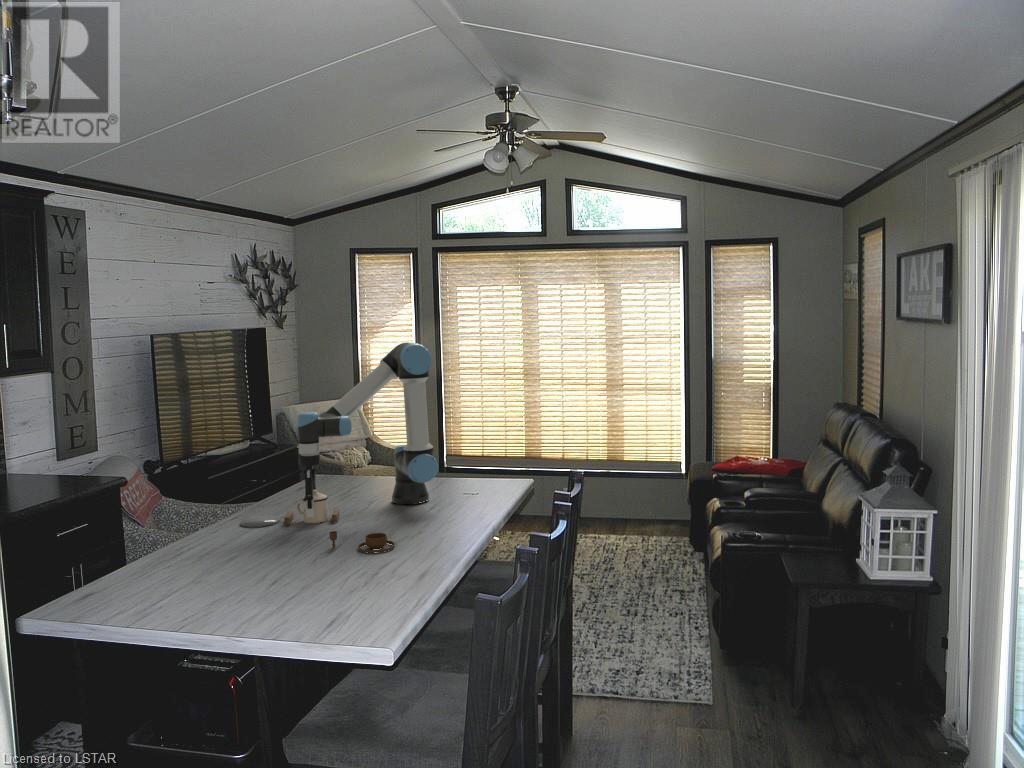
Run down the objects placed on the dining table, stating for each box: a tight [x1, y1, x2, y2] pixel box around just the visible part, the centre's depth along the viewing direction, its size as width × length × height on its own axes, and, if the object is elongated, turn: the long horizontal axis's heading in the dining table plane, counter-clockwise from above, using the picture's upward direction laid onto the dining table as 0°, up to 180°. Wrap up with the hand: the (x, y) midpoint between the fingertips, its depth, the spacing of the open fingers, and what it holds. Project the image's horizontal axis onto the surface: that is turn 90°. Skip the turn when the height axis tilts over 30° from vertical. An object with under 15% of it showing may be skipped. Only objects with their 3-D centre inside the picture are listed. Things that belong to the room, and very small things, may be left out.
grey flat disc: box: [240, 514, 281, 528], centre depth 310 cm, size 14×14×1 cm
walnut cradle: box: [284, 507, 340, 526], centre depth 311 cm, size 19×10×3 cm, turn 98°
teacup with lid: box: [296, 489, 329, 524], centre depth 311 cm, size 12×9×12 cm
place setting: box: [328, 530, 396, 554], centre depth 274 cm, size 18×20×6 cm
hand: (311, 514), depth 310 cm, fingers closed on teacup with lid, 9 cm apart
